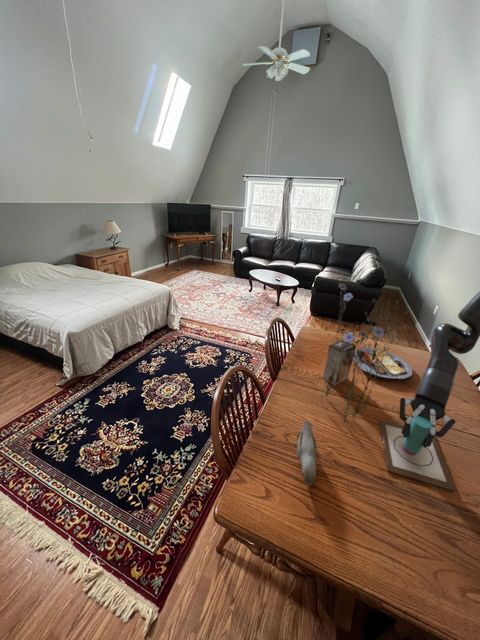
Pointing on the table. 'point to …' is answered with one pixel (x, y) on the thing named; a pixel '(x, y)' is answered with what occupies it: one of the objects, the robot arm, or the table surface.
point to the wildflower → (349, 339)
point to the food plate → (383, 363)
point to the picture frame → (414, 459)
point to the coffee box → (343, 365)
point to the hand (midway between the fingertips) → (414, 441)
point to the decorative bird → (307, 453)
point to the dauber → (416, 435)
